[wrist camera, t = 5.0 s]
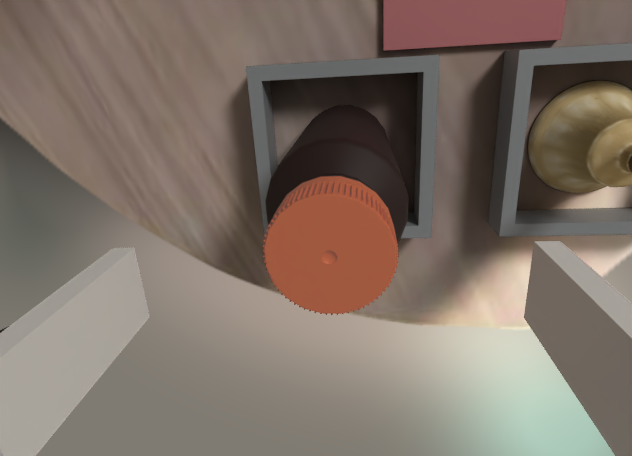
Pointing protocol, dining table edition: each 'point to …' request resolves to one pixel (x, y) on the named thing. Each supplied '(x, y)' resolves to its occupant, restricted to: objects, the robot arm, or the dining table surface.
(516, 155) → the bell tray
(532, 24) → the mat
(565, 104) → the hand bell
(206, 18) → the dining table surface
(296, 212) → the vinegar
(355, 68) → the tray
